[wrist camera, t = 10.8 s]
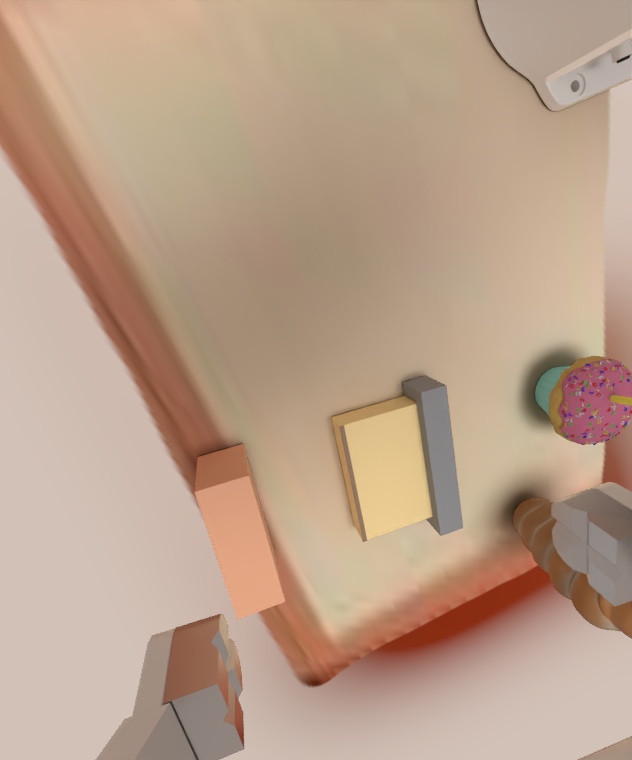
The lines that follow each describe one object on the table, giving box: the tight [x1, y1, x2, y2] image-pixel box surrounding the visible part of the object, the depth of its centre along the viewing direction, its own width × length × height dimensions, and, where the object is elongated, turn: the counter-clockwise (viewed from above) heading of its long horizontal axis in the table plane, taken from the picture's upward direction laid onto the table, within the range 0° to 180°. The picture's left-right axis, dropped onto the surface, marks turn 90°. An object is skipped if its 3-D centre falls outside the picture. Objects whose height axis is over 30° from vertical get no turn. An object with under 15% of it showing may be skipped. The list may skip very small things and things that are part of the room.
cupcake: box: [535, 356, 632, 445], centre depth 37 cm, size 9×8×12 cm
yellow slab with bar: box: [331, 376, 463, 542], centre depth 38 cm, size 10×15×4 cm
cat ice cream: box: [513, 498, 632, 638], centre depth 37 cm, size 9×8×18 cm
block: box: [194, 444, 285, 619], centre depth 34 cm, size 4×12×6 cm, turn 12°
